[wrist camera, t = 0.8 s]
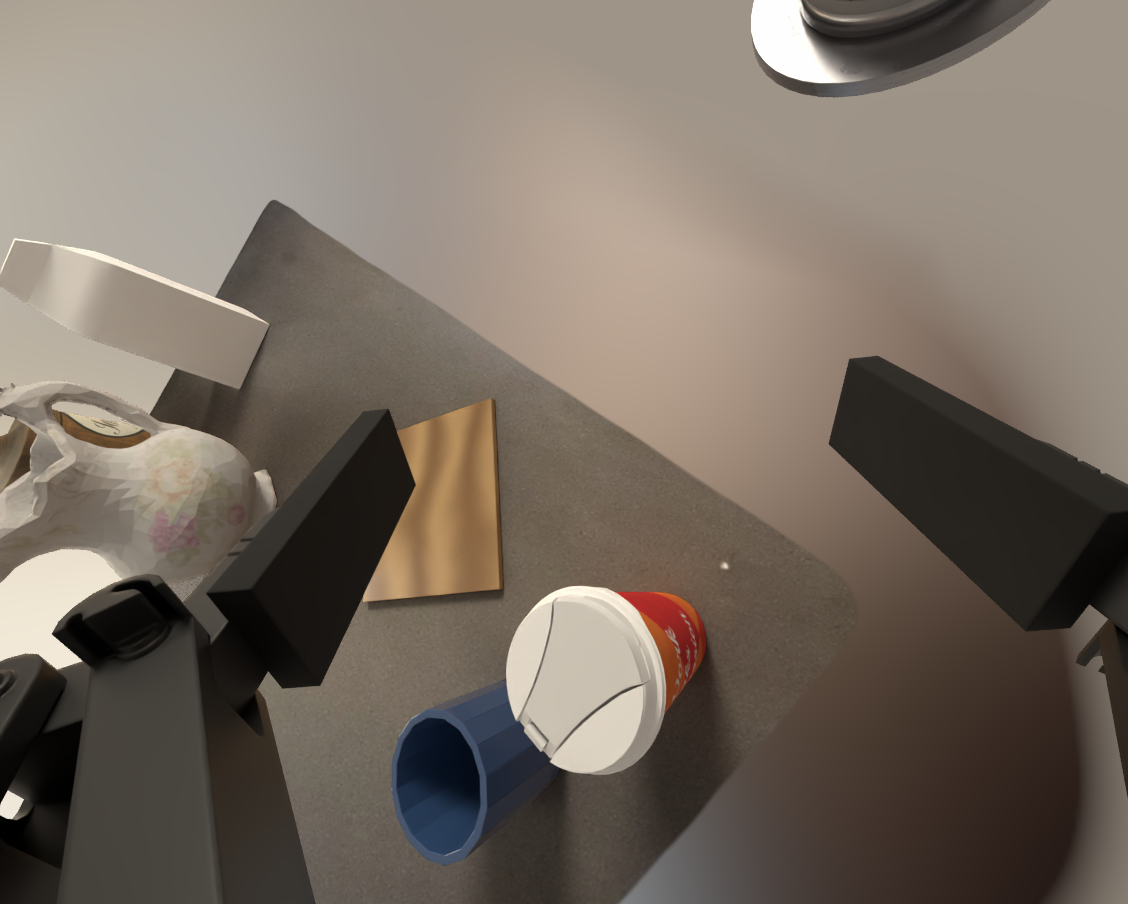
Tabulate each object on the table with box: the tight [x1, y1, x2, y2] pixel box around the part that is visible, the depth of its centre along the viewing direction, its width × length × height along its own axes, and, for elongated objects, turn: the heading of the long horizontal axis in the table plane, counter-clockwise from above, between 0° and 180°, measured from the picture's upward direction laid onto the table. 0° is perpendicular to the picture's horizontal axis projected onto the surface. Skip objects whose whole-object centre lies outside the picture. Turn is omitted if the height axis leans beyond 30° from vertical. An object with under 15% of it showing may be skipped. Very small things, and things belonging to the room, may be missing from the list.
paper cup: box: [506, 586, 706, 775], centre depth 24 cm, size 8×8×14 cm
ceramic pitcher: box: [0, 381, 277, 584], centre depth 52 cm, size 22×20×25 cm
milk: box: [0, 239, 270, 389], centre depth 64 cm, size 12×12×26 cm
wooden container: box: [0, 410, 151, 493], centre depth 72 cm, size 15×15×22 cm
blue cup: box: [391, 679, 560, 866], centre depth 30 cm, size 8×8×9 cm
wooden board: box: [364, 398, 503, 602], centre depth 44 cm, size 18×18×1 cm
